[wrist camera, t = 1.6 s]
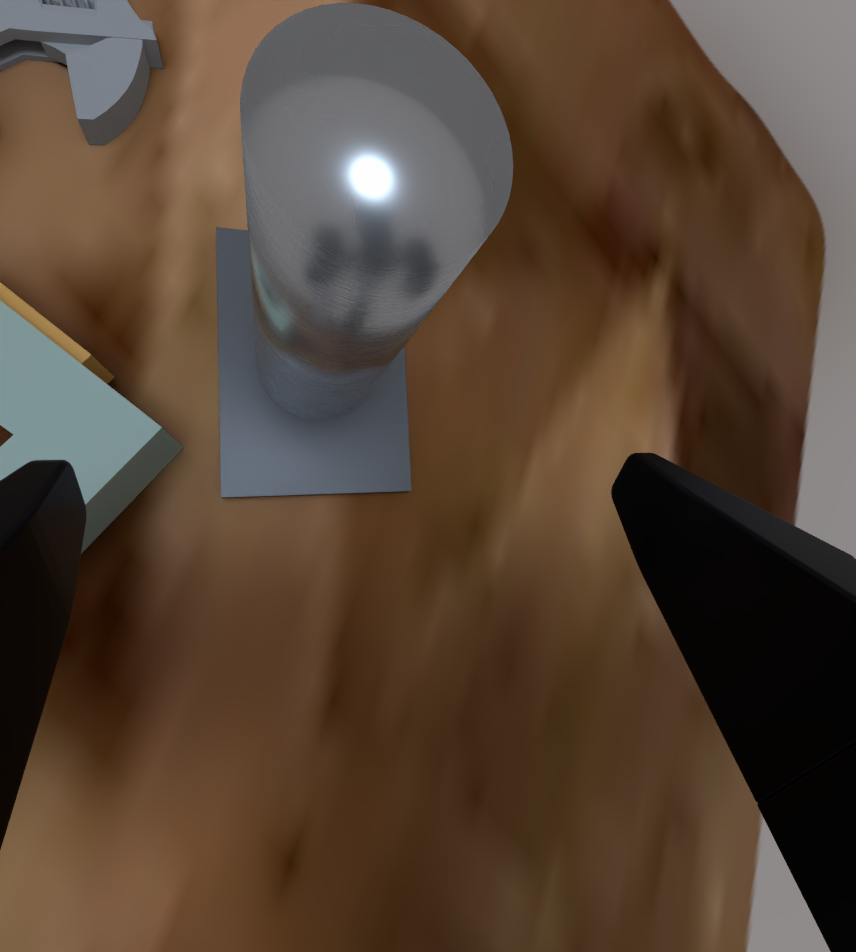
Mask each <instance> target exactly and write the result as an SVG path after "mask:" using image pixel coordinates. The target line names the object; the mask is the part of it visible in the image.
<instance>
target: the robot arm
mask: <svg viewBox="0 0 856 952" xmlns="http://www.w3.org/2000/svg"><path fill="white" fill-rule="evenodd" d="M611 494H612V499H613V502H614V505H615V507H616V510H617V513H618V515H619V518H620V520H621V523H622V526H623V528H624V531H625V533H626V536H627V539H628V541H629V544H630V546H631V549H632V552H633V554H634V557H635V559H636V562H637V564H638V566H639V569H640V571H641V573H642V575H643V577H644V579H645V581H646V583H647V585H648V587H649V589H650V591H651V593H652V595H653V597H654V599H655V601H656V603H657V605H658V607H659V609H660V611H661V613H662V615H663V617H664V619H665V621H666V623H667V625H668V627H669V629H670V631H671V633H672V635H673V637H674V639H675V641H676V643H677V645H678V647H679V649H680V651H681V653H682V655H683V657H684V659H685V661H686V663H687V665H688V667H689V669H690V671H691V673H692V675H693V677H694V679H695V681H696V683H697V685H698V687H699V689H700V691H701V693H702V695H703V697H704V699H705V701H706V703H707V705H708V707H709V709H710V711H711V713H712V715H713V717H714V719H715V721H716V723H717V725H718V727H719V729H720V731H721V733H722V735H723V737H724V739H725V741H726V743H727V745H728V747H729V749H730V751H731V753H732V755H733V757H734V759H735V761H736V763H737V764H738V766H739V768H740V770H741V772H742V774H743V776H744V778H745V780H746V782H747V784H748V786H749V788H750V790H751V792H752V794H753V796H754V798H755V800H756V802H758V807H759V809H760V811H761V813H762V815H763V817H764V819H765V821H766V823H767V825H768V827H769V829H770V831H771V833H772V835H773V837H774V839H775V841H776V843H777V845H778V847H779V849H780V851H781V853H782V855H783V857H784V859H785V861H786V863H787V865H788V867H789V869H790V871H791V873H792V875H793V877H794V879H795V881H796V883H797V885H798V887H799V889H800V891H801V893H802V895H803V897H804V899H805V901H806V903H807V905H808V907H809V909H810V911H811V913H812V915H813V917H814V919H815V921H816V923H817V925H818V927H819V929H820V931H821V933H822V935H823V937H824V939H825V941H826V943H827V945H828V947H829V949H830V951H831V952H856V559H854V557H853V556H851V555H850V554H848V553H846V552H844V551H841V550H840V549H838V548H836V547H834V546H832V545H830V544H828V543H826V542H824V541H822V540H820V539H818V538H817V537H815V536H813V535H811V534H809V533H807V532H805V531H803V530H801V529H799V528H797V527H795V526H793V525H792V524H790V523H788V522H786V521H784V520H782V519H780V518H778V517H776V516H774V515H772V514H770V513H768V512H766V511H764V510H763V509H761V508H759V507H757V506H755V505H753V504H751V503H749V502H747V501H745V500H743V499H741V498H739V497H737V496H735V495H734V494H732V493H730V492H728V491H726V490H724V489H722V488H720V487H718V486H716V485H714V484H712V483H710V482H708V481H706V480H705V479H703V478H701V477H699V476H697V475H695V474H693V473H691V472H689V471H687V470H685V469H683V468H681V467H679V466H677V465H676V464H674V463H672V462H670V461H668V460H666V459H664V458H662V457H660V456H658V455H656V454H653V453H634V454H631V455H630V456H629V457H628V458H627V460H626V461H625V463H624V465H623V467H622V469H621V471H620V473H619V474H618V476H617V478H616V480H615V482H614V484H613V486H612V492H611ZM85 526H86V506H85V502H84V499H83V496H82V493H81V490H80V487H79V484H78V481H77V478H76V474H75V471H74V469H73V467H72V465H71V464H70V463H69V462H68V461H66V460H33V461H30V462H28V463H26V464H25V465H23V466H22V467H20V468H19V469H17V470H16V471H14V472H12V473H11V474H9V475H8V476H6V477H5V478H3V479H2V480H0V849H1V846H2V843H3V840H4V836H5V833H6V830H7V826H8V823H9V820H10V817H11V813H12V810H13V807H14V803H15V800H16V797H17V794H18V790H19V787H20V784H21V781H22V777H23V774H24V771H25V767H26V764H27V761H28V758H29V754H30V751H31V748H32V744H33V741H34V738H35V735H36V731H37V728H38V725H39V721H40V718H41V715H42V712H43V708H44V705H45V702H46V699H47V695H48V692H49V689H50V685H51V682H52V679H53V676H54V672H55V669H56V666H57V662H58V659H59V656H60V653H61V649H62V646H63V643H64V639H65V636H66V632H67V629H68V625H69V621H70V617H71V612H72V606H73V601H74V594H75V588H76V582H77V576H78V569H79V563H80V557H81V551H82V545H83V538H84V532H85Z"/></svg>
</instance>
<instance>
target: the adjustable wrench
mask: <svg viewBox="0 0 856 952" xmlns="http://www.w3.org/2000/svg"><path fill="white" fill-rule="evenodd" d="M24 60H34V61H45V62H60V63H63V64H65V65H67V66H68V71H69V77H70V82H71V88H72V93H73V98H74V104H75V109H76V114H77V119H78V121H79V123H80V125H81V128H82V130H83V132H84V134H85V136H86V138H87V140H88V143H89V145H106V144H107V143H109V142H110V141H111V140H113V139H114V138H116V137H117V136H118V135H119V134H120V133H121V132H122V131H124V130H125V129H126V128H127V127H128V125H129V124H130V123H131V122H132V121H133V119H134V118H135V117H136V115H137V113H138V111H139V110H140V108H141V106H142V103H143V100H144V97H145V94H146V90H147V86H148V81H149V76H150V68H157V69H163V65H162V60H161V56H160V52H159V47H158V43H157V39H156V37H155V33H154V28H153V24H152V21H146V20H140V19H139V17H138V16H137V15H136V13H135V12H134V11H133V9H132V8H131V6H130V4H129V3H128V1H127V0H0V71H2V70H4V69H7V68H9V67H11V66H13V65H15V64H17V63H20V62H22V61H24Z"/></svg>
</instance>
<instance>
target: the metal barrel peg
mask: <svg viewBox="0 0 856 952" xmlns="http://www.w3.org/2000/svg"><path fill="white" fill-rule="evenodd" d="M240 113H241V132H242V147H243V162H244V177H245V193H246V208H247V223H248V238H249V254H250V269H251V284H252V299H253V315H254V330H255V345H256V360H257V369H258V374H259V377H260V380H261V382H262V384H263V387H264V388H265V390H266V391H267V393H268V394H269V396H270V397H271V398H272V399H273V400H274V401H275V402H276V403H277V404H278V405H279V406H280V407H282V408H283V409H285V410H286V411H288V412H290V413H291V414H294V415H296V416H299V417H302V418H305V419H311V420H329V419H334V418H338V417H340V416H343V415H345V414H347V413H348V412H350V411H352V410H353V409H354V408H356V407H357V406H358V405H359V404H360V403H361V402H362V401H363V399H364V398H365V397H366V395H367V394H368V393H369V391H370V390H371V389H372V387H373V386H374V385H375V384H376V382H377V381H378V380H379V378H380V377H381V376H382V374H383V373H384V372H385V371H386V369H387V368H388V367H389V365H390V364H391V363H392V361H393V360H394V359H395V358H396V356H397V355H398V354H399V352H400V351H401V350H402V348H403V347H404V346H405V344H406V343H407V342H408V341H409V339H410V338H411V337H412V335H413V334H414V333H415V331H416V330H417V329H418V328H419V326H420V325H421V324H422V322H423V321H424V320H425V318H426V317H427V316H428V315H429V313H430V312H431V311H432V309H433V308H434V307H435V305H436V304H437V303H438V301H439V300H440V299H441V298H442V296H443V295H444V294H445V292H446V291H447V290H448V288H449V287H450V286H451V285H452V283H453V282H454V281H455V279H456V278H457V277H458V275H459V274H460V273H461V272H462V270H463V269H464V268H465V266H466V265H467V264H468V262H469V261H470V260H471V258H472V257H473V256H474V255H475V253H476V252H477V251H478V249H479V248H480V247H481V245H482V244H483V243H484V242H485V240H486V239H487V238H488V236H489V235H490V234H491V232H492V231H493V230H494V228H495V227H496V226H497V224H498V222H499V220H500V219H501V217H502V215H503V213H504V211H505V208H506V205H507V202H508V200H509V196H510V191H511V186H512V178H513V156H512V148H511V142H510V137H509V133H508V130H507V126H506V123H505V120H504V117H503V115H502V113H501V110H500V108H499V106H498V103H497V101H496V100H495V98H494V96H493V94H492V92H491V91H490V89H489V87H488V86H487V84H486V83H485V81H484V80H483V79H482V77H481V76H480V74H479V73H478V72H477V71H476V69H475V68H474V67H473V66H472V65H471V64H470V62H469V61H468V60H467V59H466V58H465V57H464V56H463V55H462V54H461V53H460V52H459V51H458V50H457V49H456V48H455V47H454V46H452V45H451V44H450V43H449V42H447V41H446V40H445V39H444V38H442V37H441V36H440V35H438V34H437V33H435V32H434V31H432V30H431V29H429V28H427V27H426V26H424V25H422V24H420V23H418V22H417V21H415V20H413V19H411V18H409V17H406V16H404V15H401V14H399V13H396V12H393V11H391V10H387V9H383V8H379V7H376V6H370V5H363V4H356V3H336V4H328V5H321V6H317V7H313V8H310V9H306V10H304V11H301V12H299V13H297V14H295V15H292V16H290V17H289V18H287V19H286V20H284V21H283V22H281V23H280V24H278V25H277V26H276V27H275V28H274V29H273V30H272V31H270V32H269V33H268V34H267V35H266V36H265V37H264V39H263V40H262V41H261V43H260V44H259V45H258V47H257V48H256V49H255V51H254V53H253V55H252V57H251V59H250V61H249V63H248V65H247V69H246V72H245V75H244V79H243V83H242V90H241V97H240Z"/></svg>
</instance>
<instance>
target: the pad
mask: <svg viewBox="0 0 856 952" xmlns="http://www.w3.org/2000/svg"><path fill="white" fill-rule="evenodd" d="M216 237H217V294H218V350H219V407H220V463H221V498H242V497H272V496H301V495H330V494H359V493H388V492H409V491H411V472H410V451H409V430H408V409H407V387H406V366H405V346H404V347H403V348H402V350H401V351H400V352H399V354H398V355H397V356H396V358H395V359H394V360H393V361H392V363H391V364H390V365H389V367H388V368H387V369H386V371H385V372H384V373H383V374H382V376H381V377H380V378H379V380H378V381H377V382H376V384H375V385H374V386H373V387H372V389H371V390H370V391H369V393H368V394H367V395H366V397H365V398H364V399H363V401H362V402H361V403H360V404H359V405H358V406H357V407H356V408H354V409H353V410H352V411H350V412H348V413H347V414H345V415H343V416H340V417H338V418H334V419H329V420H311V419H305V418H302V417H299V416H296V415H294V414H291V413H290V412H288V411H286V410H285V409H283V408H282V407H280V406H279V405H278V404H277V403H276V402H275V401H274V400H273V399H272V398H271V397H270V396H269V394H268V393H267V391H266V390H265V388H264V387H263V384H262V382H261V380H260V377H259V374H258V369H257V360H256V345H255V330H254V315H253V299H252V284H251V269H250V254H249V238H248V231H246V230H237V229H229V228H220V227H216Z"/></svg>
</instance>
